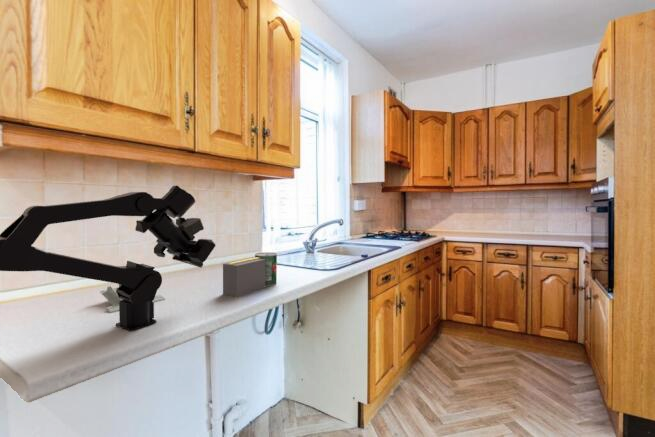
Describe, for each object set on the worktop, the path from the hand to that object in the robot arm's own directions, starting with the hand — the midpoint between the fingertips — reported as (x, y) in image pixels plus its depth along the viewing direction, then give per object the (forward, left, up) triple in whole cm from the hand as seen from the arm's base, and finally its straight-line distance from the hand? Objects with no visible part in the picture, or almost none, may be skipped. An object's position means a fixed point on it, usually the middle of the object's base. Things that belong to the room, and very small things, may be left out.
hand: (201, 266), depth 95 cm
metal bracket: (-9, +20, -12) cm, 25 cm away
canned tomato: (+29, 0, -11) cm, 31 cm away
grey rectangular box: (+18, 0, -11) cm, 21 cm away
